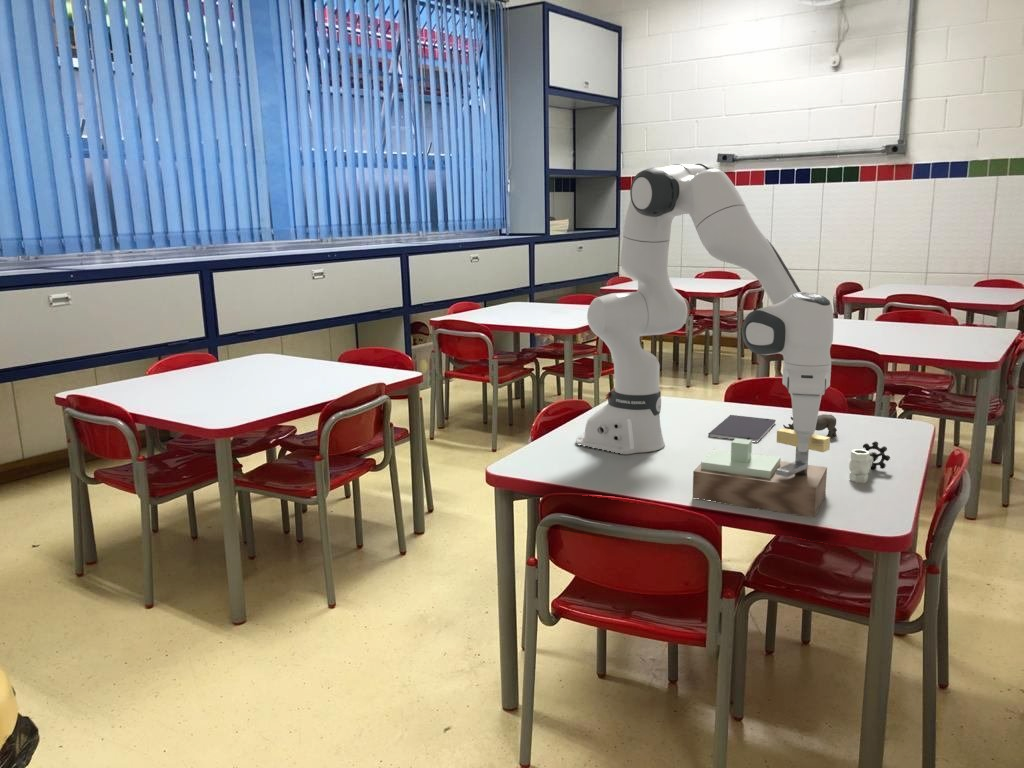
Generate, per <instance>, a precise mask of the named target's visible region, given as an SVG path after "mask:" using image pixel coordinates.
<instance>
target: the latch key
mask: <svg viewBox="0 0 1024 768" xmlns="http://www.w3.org/2000/svg"><path fill="white" fill-rule="evenodd" d="M776 443H777V444H778V443H779V444H782V445H786V446H792V447H795V460H794V461H792V462H790V464H788V465H785V466H783V467H781V468H778V469H776V474H777V475H781V476H785V477H789V476H791V475H793V474H796V475H807V470H808V465H809V450H810V451H814V452H815V451H816V452H819V453H825V452H827V451H829V450H830V448H831V447H830V446H831V438H830V437H826V436H825V435H820V434H815V433H814V434H810V436H809V442H808V451H807V452H800V451H798V434H797V433H795V432H794V430H791V429H786V428H784V427H783V428H780V429H777V430H776Z"/></svg>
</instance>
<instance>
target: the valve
mask: <svg viewBox="0 0 1024 768" xmlns="http://www.w3.org/2000/svg"><path fill="white" fill-rule="evenodd" d="M862 448H863V449H852V450H851V451H850V461H849V463H848V468H849V471H850V472H849V478H848V479H850V480H849V481H851V480H852V481H851V482H853V481H854V483H856V482H860V484H862V483H863V484H865V483H866V482H868V481H869V472H870V470H872V471H875V470H877V468H878V466H879V468H880V469H885V468H886V467H887V464H886V463H885V462H888V461H890V460H891V456H890V455H886V454H885V452H887V451H888V448H887V446H882V447H879V442H878V441H873V442H872V443H871V446H870V444H869V443H867V442H865V443H864V444H863V445H862ZM864 449H865V450H864ZM870 450H877V451H878V452H879V453H877V452H876V451H874V452H873V451H872V452H869V451H870ZM879 457H881V459H880V461H878V462H876V461H877V460H878V459H879ZM884 461H885V462H884Z"/></svg>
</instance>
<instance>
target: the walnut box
mask: <svg viewBox="0 0 1024 768" xmlns="http://www.w3.org/2000/svg"><path fill="white" fill-rule="evenodd" d="M790 463H791V462H788V461H781V460H780V465H779V467H778V468H781V467H783V466H785V465H788V464H790ZM778 468H777V469H778ZM827 471H828V467H827V466H821V465H814V464H813V465H812V464H808V470H807V475H796V474H793V475H791V476H789V477H785V476H781V475H777V474H776V471H775V472H774V474H773V475H772V477H771V478H763V477H756V476H749V475H741V474H734V473H727V472H719V471H712V470H704V469H701V463H700V464H698V465H697V467H696V468H695V469H694V470H693V471H692V472H693V474H692V475H693V476H692V477H693V478H692V499H693V498H699V499H705V500H711V501H716V502H715V503H717V502H721V503H720V504H724V503H726V504H725V505H730V504H732V505H731V506H737V505H739V506H738V507H743V506H744V507H745V508H750V507H752V508H751V509H756V508H759V509H758V510H763V509H765V510H764V511H769V510H771V512H775V511H778V512H777V513H782V512H783V514H789V515H795V516H801V517H809V518H815V517H816V515H817V513H818V511H819V509H820V507H821V506H822V505H821V504H822V503H823V500H824V499H825V497H826V490H827V477H828V476H827V473H828V472H827ZM711 501H710V502H711ZM744 507H743V508H744Z"/></svg>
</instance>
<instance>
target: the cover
mask: <svg viewBox="0 0 1024 768" xmlns="http://www.w3.org/2000/svg"><path fill="white" fill-rule="evenodd" d="M730 443H731V444H730V445H731V446H730V447H731V450H725V449H715V448H714V449H713V450H712V451H711V452H710V453H708V455H706V457H705V458H704V459H702V460H701V462H700V464H701V469H704V470H712V471H719V472H727V473H734V474H741V475H749V476H756V477H763V478H771V477H772V475H773V474H774V472H775V471H776V469H777V468H778V467H779V465H780V461H781V456H772V455H771V456H770V455H763V454H756V453H752V449H753V448H752V447H753V442H752V440H747V439H738V438H735V439H734V440H731V442H730Z"/></svg>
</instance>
